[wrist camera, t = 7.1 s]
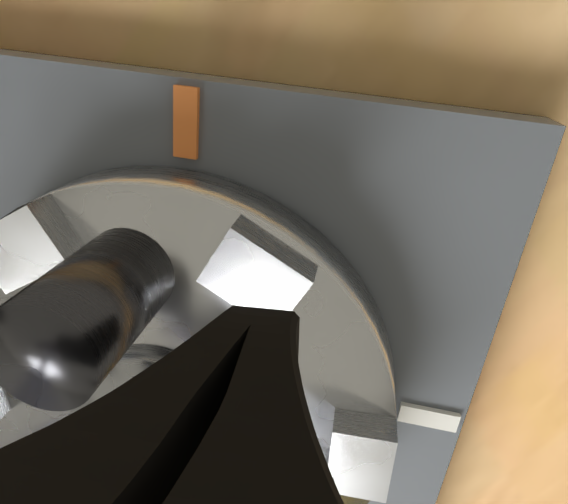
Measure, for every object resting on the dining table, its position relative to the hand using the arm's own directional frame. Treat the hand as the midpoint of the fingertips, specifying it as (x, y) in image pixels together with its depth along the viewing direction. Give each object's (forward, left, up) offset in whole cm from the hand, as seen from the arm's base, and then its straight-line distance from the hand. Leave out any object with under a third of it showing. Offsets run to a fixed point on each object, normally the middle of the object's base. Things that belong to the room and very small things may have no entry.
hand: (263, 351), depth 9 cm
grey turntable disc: (-6, +4, -6) cm, 9 cm away
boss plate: (-6, +4, -7) cm, 10 cm away
